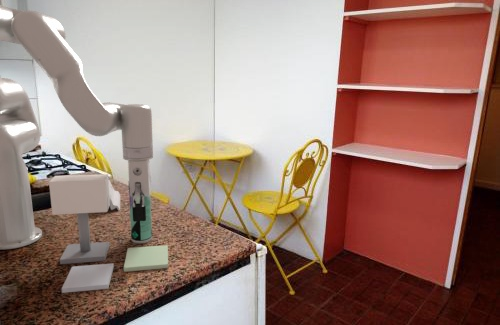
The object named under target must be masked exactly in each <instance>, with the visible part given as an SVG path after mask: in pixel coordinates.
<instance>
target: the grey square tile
mask: <svg viewBox="0 0 500 325" xmlns="http://www.w3.org/2000/svg"><path fill="white" fill-rule="evenodd" d="M114 265H115V264H114V263H112V262H111V263H101V264H88V265H77V266H71V268H70V270H69V272H68V275H67V277H66V279H65V281H64V283H63V285H62V287H61V293H62V294H64V293H74V292H75V293H76V292H77V293H78V292H85V291H97V290H98V291H99V290H106V289H107V290H108V289H109V287H110V284H111V279H112V276H113V271H114V268H115V266H114Z"/></svg>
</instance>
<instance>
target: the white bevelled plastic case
mask: <svg viewBox="0 0 500 325" xmlns="http://www.w3.org/2000/svg"><path fill="white" fill-rule="evenodd" d="M108 180H109V196H110V206H109V209H108V210H111V211H113V210H115V209H117V211H118V212H120V211H121V194H120V192H119V191H118V190H115V189H114V187H113V185H112V183H111V180H110V178H108Z"/></svg>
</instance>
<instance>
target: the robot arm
mask: <svg viewBox="0 0 500 325" xmlns="http://www.w3.org/2000/svg"><path fill="white" fill-rule="evenodd" d="M66 37H67V36H66V31H65V28H64V27H63V25H62V23H61V22H59V20H57V19H56V18H55V17H53V16H51V15H48V14H45V13H42V12H39V11H36V10H24V11H23V10H19V9H14V8H12V7H7V6H3V5H0V41H1V42H6V43H12V44H16V45H17V44H18V45H21V46H22V47H23V49H24V50H25V51H26V52H27V53H28V54H29V56H30V57H31V58H32V59H33V60H34V62H36V64H37V65H38V67H40V68H41V69H42V71H43V72H44V73H45V75H46V77H48V78H49V79H50V81H51V82H52V84H53V87H54V90H55V92H56V94H57V97H58V99H59V101H60V102H61V104H62V106H63V107H64V109H65V110H66V111H67V114H69V115H70V116H71V117H72V118H73V120H74V121H75V122H76V123H77V125H78V126H79V127H80V128H82V130H83V131H85V132H86V133H88V134H89V135H91V136H95V137H103V136H106V135H108V134H110V133H113V132H116V131H121V140H122V141H121V142H122V144H121V145H122V159H123V160H125V161H127V166H128V167H127V168H128V169H127V170H128V172H127V173H128V181H129V182H128V187H129V186H130V196H131V197H132V198H133V206H132V210H133V221H134V222H136V221H146V206H144V197H145V196H147V197H149V196H151V192H152V184H151V182H152V180H151V178H152V177H151V164H150V160H151V159H153V158H154V147H153V143H154V142H153V119H152V117H153V115H152V109H151V107H150V106H149V105H147V104H140V103H130V104H129V103H127V104H121V103H117V102H111V101H110V102H101V101H100V100H99V98H97V96H96V95H95V94H94V92H93V91H92V90H91V89H90V87H89V85H88V83H87V81H86V79H85V77H84V64H83V61H82V60H81V58H80V57H79V55H77V54H76V52H75V51H74V50H73V49H72V47H71V46H70V45H69V44H68V43H67V41H66ZM40 141H41V132H40V127H39V124H38V122H37V118H36V116H35V112H34V110H33V106H32V103H31V101H30V98H29V95H28V93H27V92H26V90H25V88H24V87H23V86H22V85H21V84H20V83H18V81H16V80H14V79H11V78H5V77H2V76H0V250H12V249H17V248H18V249H19V248H22V247H25V246H28V245H31V244H33V243H36V242H37V241H39V240H40V239H41V238H42V236H43V231H42V229H41V228H39V227H37V226H35V219H34V218H35V217H34V211H33V210H34V209H33V202H32V201H33V200H32V194H31V193H32V192H31V191H32V190H31V185H30V184H31V183H30V176H29V171H28V167H27V164H26V163H25V161H24V158H23V154H25V153H28V152H30V151H33V150H34V149H35V148H36V147H38V145H39V143H40ZM137 170H138V171H137ZM132 193H133V194H132ZM140 194H143V195H140ZM140 198H142V199H140Z"/></svg>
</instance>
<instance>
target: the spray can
mask: <svg viewBox="0 0 500 325" xmlns="http://www.w3.org/2000/svg"><path fill="white" fill-rule="evenodd" d="M137 171H138V170H137ZM127 182H128V183H129V180H128V181H127ZM132 194H133V193H132ZM140 195H143V194H140ZM128 199H129V218H130V235H131V236H130V238H131V242H132V243H135V244H145V243H148V242H150V241H152V239H153V231H152V230H153V229H152V228H153V227H152V204H151V203H152V199H151V195H150V196H149V197H147V196H145V197H144V206H146V221H136V222H134V221H133V210H132V206H133V198H132V197H131V196H130V186H129V185H128ZM140 199H142V198H140Z"/></svg>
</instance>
